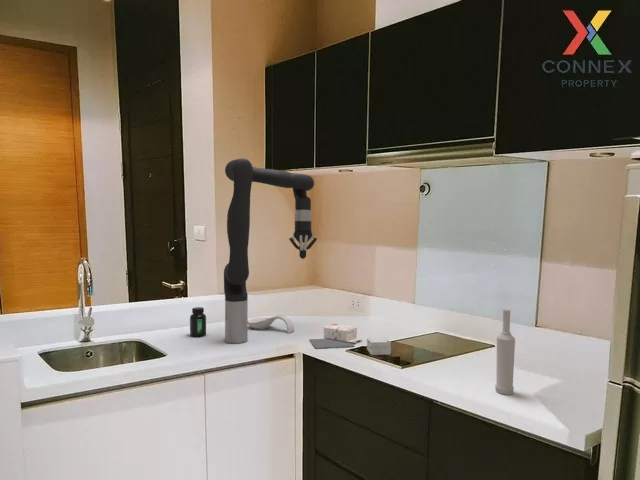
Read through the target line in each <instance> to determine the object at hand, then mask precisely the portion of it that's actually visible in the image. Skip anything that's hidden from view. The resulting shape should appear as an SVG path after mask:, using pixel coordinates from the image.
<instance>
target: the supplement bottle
mask: <svg viewBox="0 0 640 480" xmlns="http://www.w3.org/2000/svg"><path fill="white" fill-rule="evenodd" d="M204 309H205V308H204V307H202V306H201V307H200V306H199V307H197V306H195V307H193V308H191V315H190V317H189V334H190V337H192V338H203V337H206V335H207V316H206V314H205V313H204V312H205V310H204Z"/></svg>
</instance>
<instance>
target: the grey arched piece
mask: <svg viewBox="0 0 640 480" xmlns="http://www.w3.org/2000/svg"><path fill="white" fill-rule="evenodd" d="M276 320H281V321H283V322H284V323H285V325H286V331H287V334H290V333H291V334H292V333H293V332H294V331H295V327H294V324H293V322H292V321H291V320H290V318H288V317H287V316H285V315H282V314H278V315H275V316H272V317H257V318H252V319H248V327H250V328H252V329H254V330H266V329H268V328H269V327H270V326H271V325H272V324H273V323H274V322H275V321H276Z"/></svg>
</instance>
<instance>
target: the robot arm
mask: <svg viewBox="0 0 640 480" xmlns="http://www.w3.org/2000/svg"><path fill="white" fill-rule="evenodd" d="M224 172H225V173H224V174H225V176H226V177H227V178H228V179H229V180H230V181H232V182H233V192H232V197H231V201H230V203H229V207H228V209H227V214H226V215H227V216H226V233H227V239H228V240H227V241H228V246H229V257H228V258H229V260H228V263H227V264H226V265H225V266H224V268H223V269H224V270H223V290H224V291H223V292H224V304H225V305H224V311H225V312H224V313H225V314H224V339H225V340H224V341H225V343H226V344H227V343H229V344H243V343H246V342H248V338H249V336H248V335H249V334H248V332H249V331H248V328H249V325H248V320H249V319H248V318H249V317H248V315H249V314H248V311H249V309H248V307H249V306H248V301H249V298H248V297H249V296H248V290H247V281H248V279H249V275H250V269H249V268H250V267H249V255H248V252H249V249H248V248H249V239H250V228H251V227H250V226H251V224H250V223H251V192H252V184H253V183H258V184H265V185H269V186H274V187H279V188H284V189H292V192H293V197H294V201H295V202H294V203H295V204H294V206H295V208H294V209H295V212H294V232H293V234H292V236H291V237H289V238H288V240H289V242H291V244H292V245H293V247H294V248H295V249H296V250H298V251H299V258H300V259H301V260H304V259H305V258H306V257H307V250H310V249H311V248H312V247H313V245H314V244H315V243H316V241H318V238H316V237H315V236H314V235H313V233H312V200H311V198H310V197H309V196H308V195H307V192H308V191H311V190H312V189H313V188H314V186H315V180H314V179H313V177H312V176H310V175H309V174H303V173H294V172H289V171H285V170H280V169H273V168H260V167H256V166H253V163H252V162H250V160H249V159H247V158H242V157H241V158H236V159H232V160H230V161H228V163H227V164H226V165H225V168H224ZM296 241H297V242H298V244H297V243H296ZM309 241H310V242H309Z"/></svg>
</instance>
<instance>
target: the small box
mask: <svg viewBox="0 0 640 480" xmlns="http://www.w3.org/2000/svg"><path fill="white" fill-rule="evenodd" d="M366 338H367V339H366V350H367V351H368V353H369V354H370V355H371V356H383V355H385V356H386V355H388V356H389V355H392V353H391V352H392V347H391V345H392V342H391V340H390V339H389V338H387V336H375V337H374V336H373V337H372V336H371V337H366Z"/></svg>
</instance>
